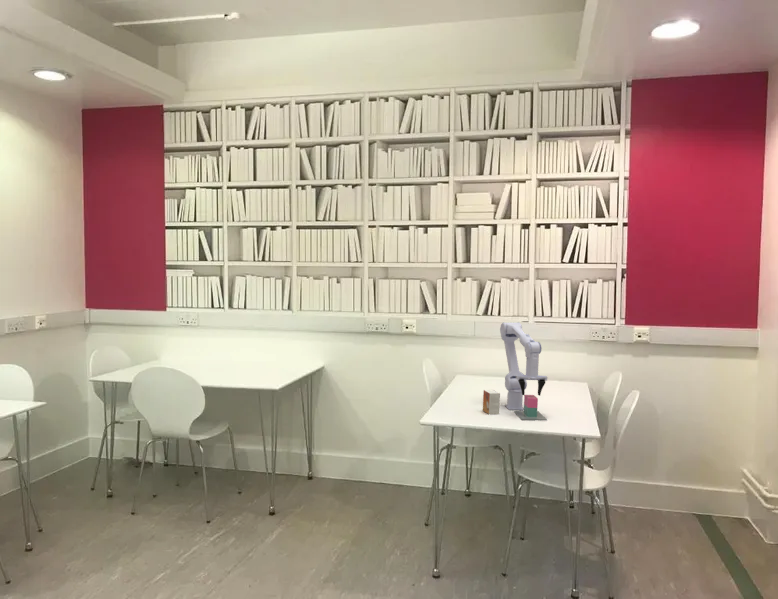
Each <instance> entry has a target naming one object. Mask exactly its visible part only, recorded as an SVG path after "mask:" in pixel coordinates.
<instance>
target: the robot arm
mask: <svg viewBox="0 0 778 599" xmlns="http://www.w3.org/2000/svg"><path fill="white" fill-rule="evenodd" d="M499 332H500V338H501V340H502V341H503V342H504V343H503V344H504V350H505V355H506V362H507V366H508V373H507V374H505V376H504V387H505V389H506V390H507V396H506V398H507V399H506V404H505V407H506V408H507V410H509V411H511V410H513V411H524V406H523V402H524V397H523V396H524V395H526V394H525V393H526V392H525V391H526V389H527V387H528V382H527V381H537V395H538V396H541V393H542V391H543V388H544V386H545V384H546V382H547V381H548V375H539V360H540V358H539V357H540V356H539V355H540V354H541V352H542V349H543V348H542V344H541V342H540V341H535V339H533V337H532V336H531V335H530V334H529V333H525V332H524V330H523V326H522V323H521V322H519V321H518V322H505V321H504V322H503V321H502V322H501V324H500V328H499ZM518 339H519V343H520V344H521V345H522V346H523V348H524V352H525V357H526V358H525V359H526V362H525V363H526V365H525V374H524V373H522V372H521V371H520V368H519V363H518V362H519V360H518V357H517V351H516V344H515V341H518Z"/></svg>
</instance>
